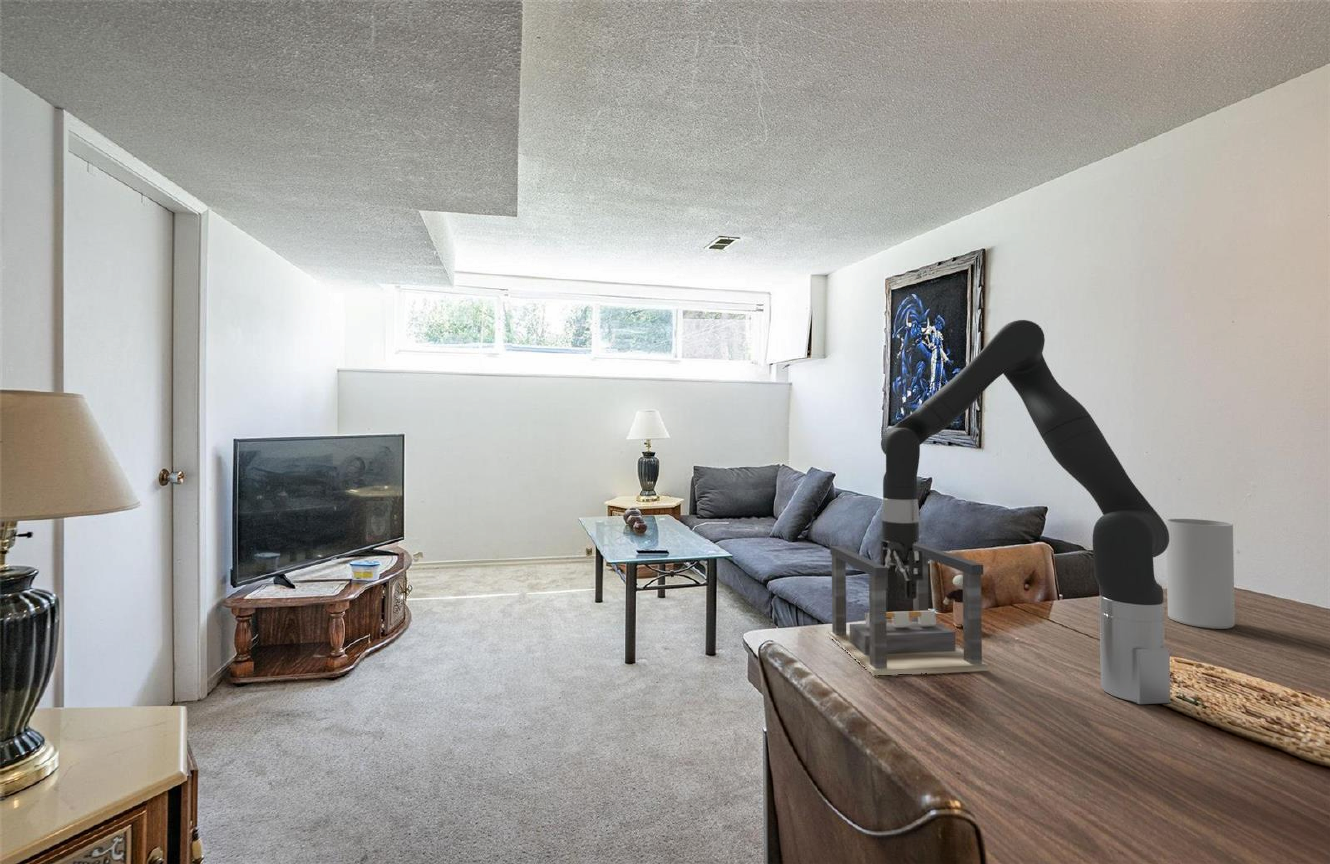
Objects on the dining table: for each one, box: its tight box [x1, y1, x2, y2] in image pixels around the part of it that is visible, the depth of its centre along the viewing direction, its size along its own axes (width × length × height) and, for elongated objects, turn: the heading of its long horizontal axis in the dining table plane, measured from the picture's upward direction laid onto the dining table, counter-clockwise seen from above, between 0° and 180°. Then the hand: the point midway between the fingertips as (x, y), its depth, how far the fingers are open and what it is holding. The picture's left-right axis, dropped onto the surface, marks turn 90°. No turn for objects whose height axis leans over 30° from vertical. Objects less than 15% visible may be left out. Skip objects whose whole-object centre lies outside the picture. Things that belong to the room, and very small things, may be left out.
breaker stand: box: [827, 555, 989, 676], centre depth 131 cm, size 24×24×19 cm
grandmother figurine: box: [943, 574, 963, 626], centre depth 148 cm, size 8×4×13 cm, turn 84°
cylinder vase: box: [1165, 518, 1236, 630], centre depth 150 cm, size 12×12×25 cm
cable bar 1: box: [829, 545, 888, 578], centre depth 130 cm, size 24×2×2 cm, turn 6°
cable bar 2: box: [913, 543, 984, 576], centre depth 132 cm, size 24×2×2 cm, turn 6°
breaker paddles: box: [864, 609, 937, 627], centre depth 131 cm, size 2×15×3 cm, turn 96°
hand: (900, 593), depth 131 cm, fingers open, 8 cm apart
